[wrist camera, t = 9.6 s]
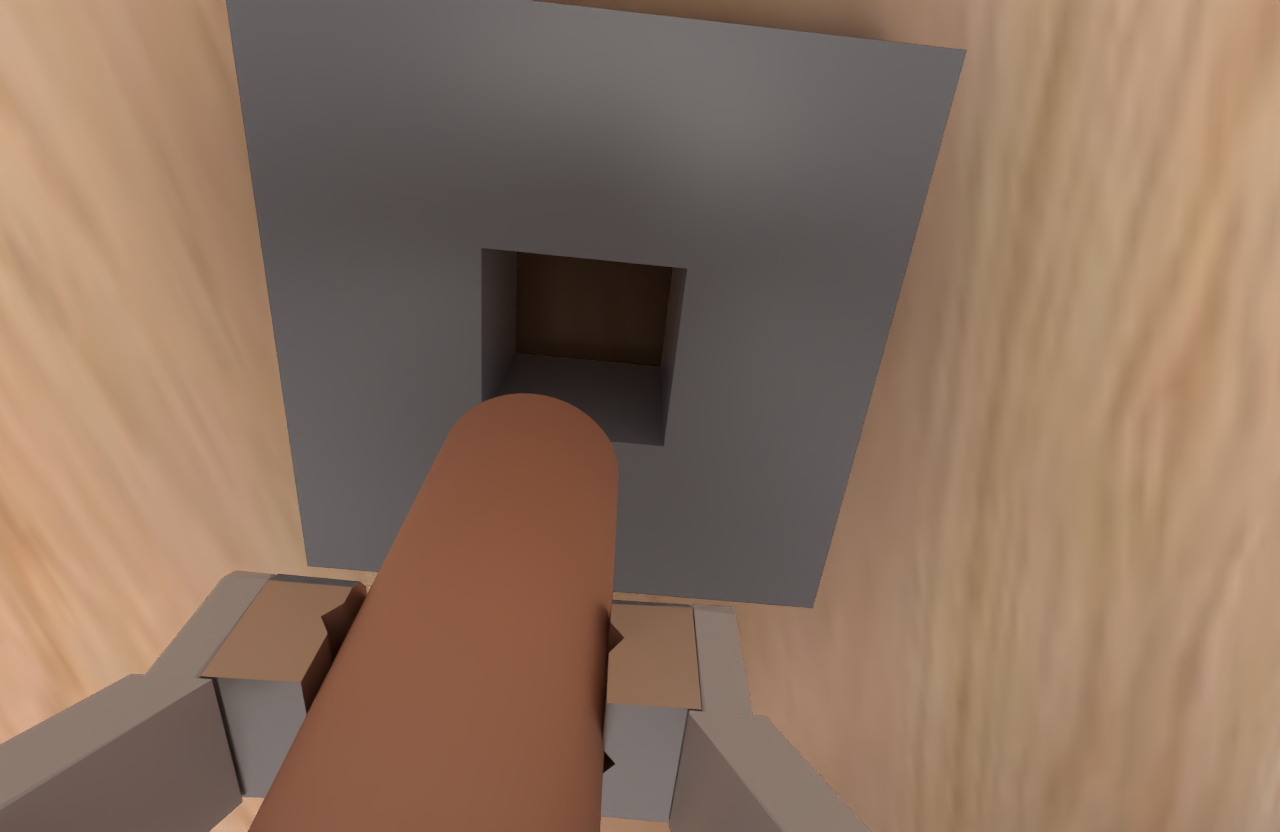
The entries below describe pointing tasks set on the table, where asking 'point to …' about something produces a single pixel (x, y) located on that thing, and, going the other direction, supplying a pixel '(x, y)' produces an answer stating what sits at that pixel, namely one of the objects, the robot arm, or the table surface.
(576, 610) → the peg
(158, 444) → the table surface
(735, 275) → the hole block
